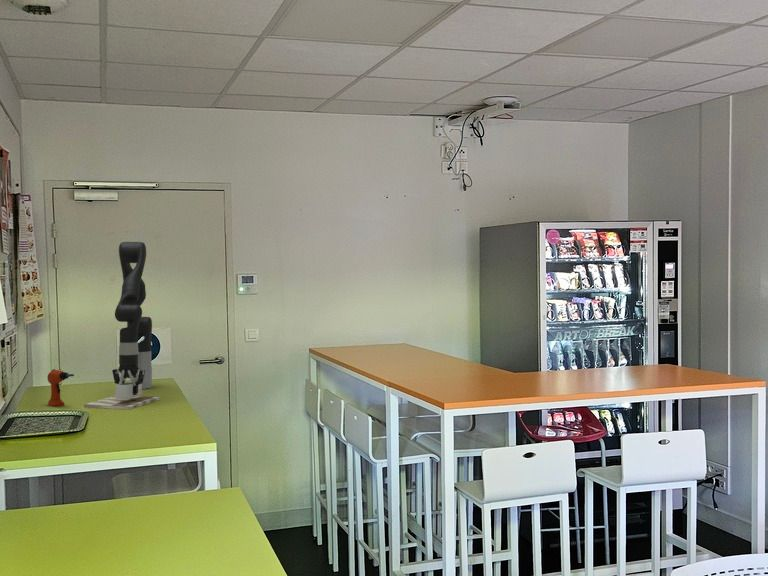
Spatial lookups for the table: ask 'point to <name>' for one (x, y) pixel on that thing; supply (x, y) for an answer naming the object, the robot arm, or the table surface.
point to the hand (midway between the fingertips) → (128, 394)
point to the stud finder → (126, 390)
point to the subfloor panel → (121, 402)
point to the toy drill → (56, 386)
